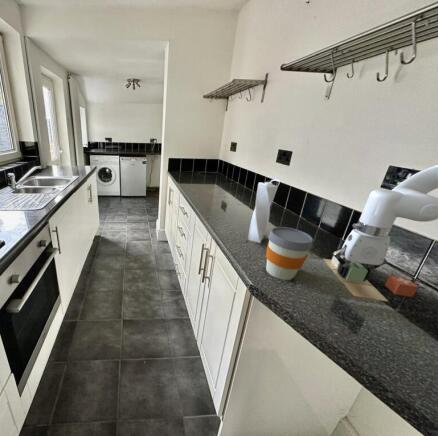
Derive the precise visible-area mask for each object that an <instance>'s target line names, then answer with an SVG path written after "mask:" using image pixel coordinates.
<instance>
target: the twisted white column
mask: <svg viewBox="0 0 438 436" xmlns="http://www.w3.org/2000/svg"><path fill="white" fill-rule="evenodd" d="M274 181H275V182H278V183H277V185H275V184H273V182H274ZM280 183H281V181H280V180H279V179H275V178H274V179H271V180H270V181H265V182H258V184H257V190H256V195H255V205H254V208H253V212H252V216H251V219H250V224H249V229H248V230H249V231H248V235H247V241H251V242H255V243H257V244H258V243H259V244H261V243H262V240H263V239H264V237H265V234H266V230H267V228H268V225H269V219H270V215H271V214H270V212H271V206H272V204H273V202H274V199H275V197H276V194H277V190H278V188H279V185H280Z"/></svg>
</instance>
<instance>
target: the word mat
mask: <svg viewBox="0 0 438 436" xmlns="http://www.w3.org/2000/svg"><path fill="white" fill-rule="evenodd" d="M322 259H323V261H324V262H325V264H326V265H327V266H328V267H329V268H330V269H331V271H332V272H333V273H334V274H335V275H336V277H337V278H338V279H339V281H341V283H342V284H343V285H344V287H346V289H347V290H348V291H349V292H350V293H351V294H352V296H353V297H358V298H359V297H360V298H363V299H370V300H376V301H383V302H388V303H389V301H390V300H388V299H387V298H386V297H385V296H384V295H383V294H382V293H381V292H380V291H379V290H378V289H377V288H376V287H375V286H374V285H373V284H372V283H371V282H370V281H369V280H368V279H366V281H363V282H358V281H352V280H347V279H346V278H345V277H344V278H343V277H341V276H340V275H339V274H338V268H336V267H335V266H334V265H333V263H332V262H331V261H332V259H328V258H322Z"/></svg>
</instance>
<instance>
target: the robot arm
mask: <svg viewBox="0 0 438 436" xmlns="http://www.w3.org/2000/svg"><path fill="white" fill-rule="evenodd" d="M437 189H438V164H435V165H433V166H431V167H427V168H425V169H423V170H421V171H419V172H416V173H414V174H413V175H411V176H409V177H408V178H406V179H404V180H402V182H400V183H399V184H398V185H396V186H395V187H394V188H392V189H384V188H383V189H382V188H378V189H374V190H371V192H370V193H369V195H368V198H367V200H366V202H365V205H364V208H363V210H362V212H361V214H360V217H359V219H358V221H357V223H353V224H352V228H353V229H352V230H351V232H350V233H349V234H348V235H347V237H346V239H345V241H344V243H343V245H342V247H341V248H340V249H338V250H336V252H335V251H334V252H333V253H332V256H333V255H334V256H335V258H336V259H337V260H338V261H339V263H340V266H339V268H338V274H339V275H340V276H341V277H343V278H344V277H345V275H346V273H347V271H348V267H347V266H348V265H349V264H350V263H351V262H355V263H360V264H362V266H363V267H364V268H366V269H367V270H368V272H367V274H366V276H365V278H364V280H363V281H366V280H368V278H369V277H370V274H371V272H374V271H375V269H378V268H380V267H381V266H385V265H387V264H388V263H389V262H388V260H387V259H386V256H387V254H388V251H389V247H390V243H391V236H389V234H390V232H391V230H392V227H393V226H394V223H395V221H396V220H397V218H400V219H406V220H410V221H414V222H420V223H421V222H422V223H423V222H424V223H425V222H432V221H436V220H438V197H436V196H433V195H430V194H428V193H430V192H433V191H434V190H437ZM341 255H344V256H343V258H341V257H340V256H341ZM363 264H364V265H363Z"/></svg>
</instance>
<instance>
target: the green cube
mask: <svg viewBox="0 0 438 436" xmlns="http://www.w3.org/2000/svg"><path fill="white" fill-rule="evenodd" d="M363 266H364V265H363V264H362V263H356V262H355V263H354V262H351V263H350V264H349V265H348V266H347V267H348V271H347V273H346V275H345V278H346V279H347V280H352V281H358V282H363V280H364V278H365V276H366V274H367V272H368V270H367V269H366V268H364V267H363Z"/></svg>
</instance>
